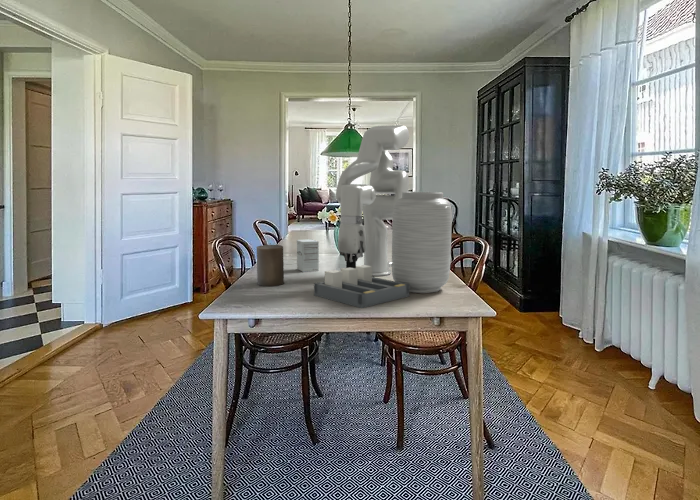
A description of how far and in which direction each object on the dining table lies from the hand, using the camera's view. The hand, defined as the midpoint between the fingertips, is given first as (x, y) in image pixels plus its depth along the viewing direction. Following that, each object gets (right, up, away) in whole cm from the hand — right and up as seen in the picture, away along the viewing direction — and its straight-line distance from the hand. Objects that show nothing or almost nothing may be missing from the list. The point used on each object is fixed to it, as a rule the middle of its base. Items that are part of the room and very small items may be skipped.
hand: (351, 272), depth 172 cm
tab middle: (-1, -5, -9) cm, 10 cm away
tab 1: (-6, -6, -13) cm, 16 cm away
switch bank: (+3, -7, -13) cm, 15 cm away
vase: (+24, -6, -1) cm, 25 cm away
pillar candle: (-29, -5, +6) cm, 30 cm away
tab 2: (+4, -5, -4) cm, 7 cm away
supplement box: (-18, -1, +33) cm, 37 cm away
